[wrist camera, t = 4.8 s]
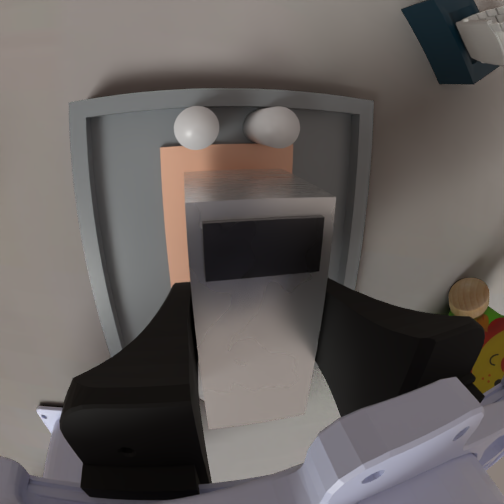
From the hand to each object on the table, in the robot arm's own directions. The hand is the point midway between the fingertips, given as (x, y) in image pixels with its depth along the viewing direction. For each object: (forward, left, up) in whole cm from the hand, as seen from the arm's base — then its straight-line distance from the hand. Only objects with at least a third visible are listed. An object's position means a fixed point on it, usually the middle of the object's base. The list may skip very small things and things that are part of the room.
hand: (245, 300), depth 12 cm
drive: (0, 0, -2) cm, 2 cm away
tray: (0, 0, -5) cm, 5 cm away
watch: (+14, -14, -6) cm, 21 cm away
